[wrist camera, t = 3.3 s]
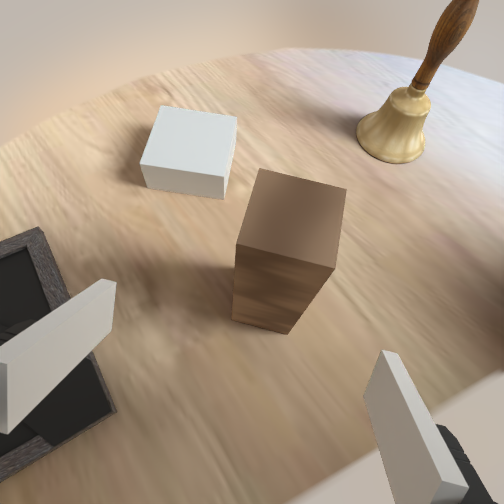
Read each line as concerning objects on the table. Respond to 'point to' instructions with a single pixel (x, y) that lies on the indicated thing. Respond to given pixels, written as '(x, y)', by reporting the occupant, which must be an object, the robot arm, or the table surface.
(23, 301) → the picture frame
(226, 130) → the white block
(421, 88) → the hand bell
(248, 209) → the walnut block
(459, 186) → the table surface
